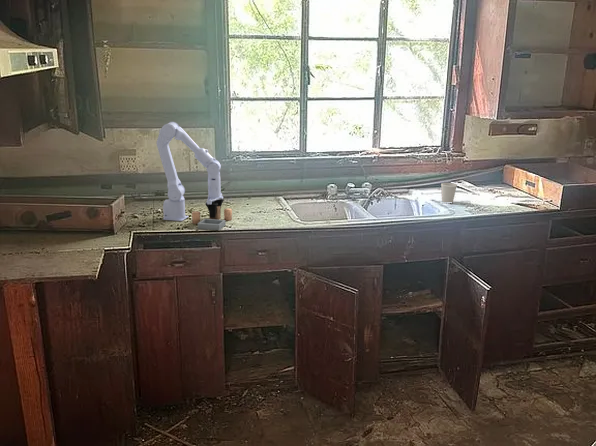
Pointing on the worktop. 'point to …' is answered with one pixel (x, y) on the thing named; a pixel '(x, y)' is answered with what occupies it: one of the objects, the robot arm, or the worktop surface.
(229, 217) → the tan cylinder
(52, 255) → the worktop surface
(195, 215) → the tan cylinder
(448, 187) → the dixie cup
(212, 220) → the tray
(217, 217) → the walnut block
